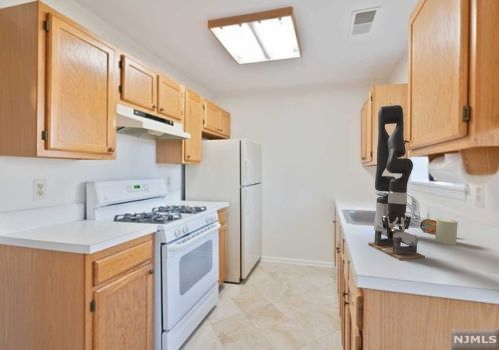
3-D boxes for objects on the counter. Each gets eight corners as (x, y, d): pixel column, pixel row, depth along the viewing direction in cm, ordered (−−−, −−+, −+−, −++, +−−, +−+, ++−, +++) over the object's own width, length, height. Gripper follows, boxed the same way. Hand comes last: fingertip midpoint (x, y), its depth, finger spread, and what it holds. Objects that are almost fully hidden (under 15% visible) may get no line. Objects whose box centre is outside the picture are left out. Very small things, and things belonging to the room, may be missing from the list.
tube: (375, 233, 131) (376, 223, 131) (384, 234, 132) (385, 223, 132) (407, 246, 112) (408, 234, 111) (417, 247, 113) (418, 234, 112)
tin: (419, 231, 161) (420, 217, 161) (421, 230, 163) (422, 217, 162) (448, 237, 149) (449, 223, 148) (450, 237, 150) (451, 222, 150)
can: (457, 245, 134) (459, 222, 133) (435, 242, 139) (437, 219, 138) (455, 241, 142) (456, 219, 141) (434, 238, 147) (435, 216, 146)
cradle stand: (367, 245, 131) (368, 229, 130) (390, 244, 133) (391, 228, 133) (398, 260, 111) (399, 241, 111) (424, 258, 114) (425, 240, 113)
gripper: (404, 200, 126) (402, 235, 127) (377, 200, 123) (375, 236, 124) (417, 203, 119) (414, 240, 120) (389, 203, 116) (387, 241, 117)
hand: (395, 238), depth 122 cm, fingers closed on tube, 5 cm apart
